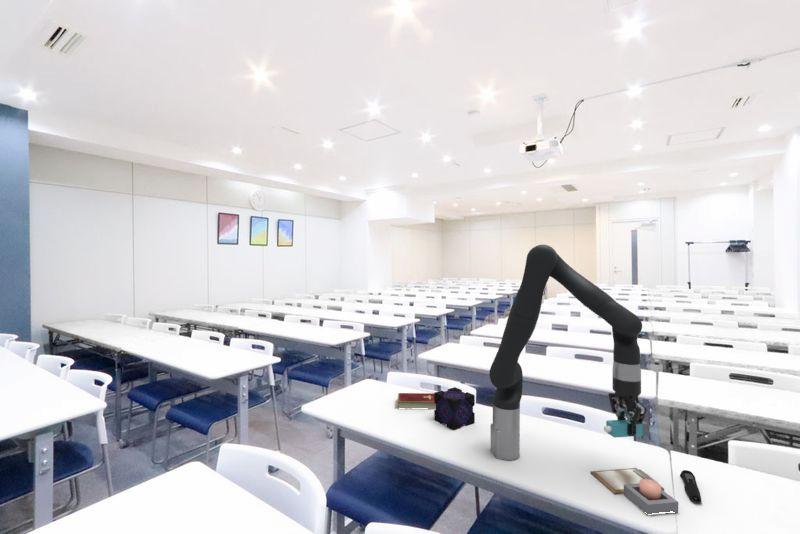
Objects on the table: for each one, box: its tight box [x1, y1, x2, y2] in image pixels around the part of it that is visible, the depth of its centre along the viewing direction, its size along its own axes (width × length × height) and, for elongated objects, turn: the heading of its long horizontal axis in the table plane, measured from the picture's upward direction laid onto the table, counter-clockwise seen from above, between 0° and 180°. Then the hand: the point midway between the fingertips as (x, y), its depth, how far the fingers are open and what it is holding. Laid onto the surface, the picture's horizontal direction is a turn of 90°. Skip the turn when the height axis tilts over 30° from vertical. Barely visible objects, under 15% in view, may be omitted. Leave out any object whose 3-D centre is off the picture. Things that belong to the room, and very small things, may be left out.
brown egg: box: [639, 479, 662, 501], centre depth 104 cm, size 5×5×3 cm
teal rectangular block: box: [603, 418, 649, 438], centre depth 114 cm, size 12×4×4 cm, turn 97°
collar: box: [623, 483, 679, 515], centre depth 104 cm, size 9×9×3 cm
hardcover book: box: [397, 392, 436, 410], centre depth 176 cm, size 12×21×4 cm, turn 89°
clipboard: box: [590, 467, 665, 495], centre depth 114 cm, size 16×11×1 cm
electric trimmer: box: [679, 469, 702, 503], centre depth 110 cm, size 4×16×3 cm, turn 150°
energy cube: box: [433, 386, 476, 432], centre depth 157 cm, size 12×12×12 cm
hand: (626, 432), depth 114 cm, fingers closed on teal rectangular block, 3 cm apart
